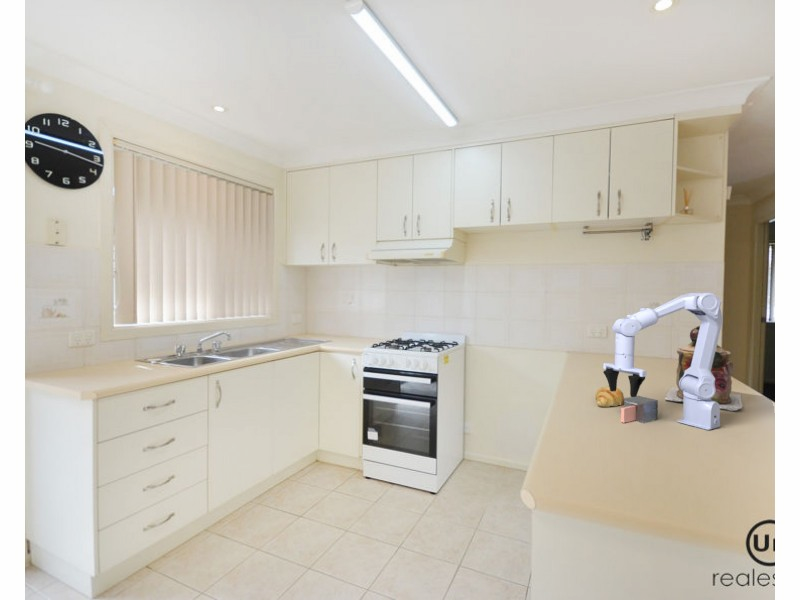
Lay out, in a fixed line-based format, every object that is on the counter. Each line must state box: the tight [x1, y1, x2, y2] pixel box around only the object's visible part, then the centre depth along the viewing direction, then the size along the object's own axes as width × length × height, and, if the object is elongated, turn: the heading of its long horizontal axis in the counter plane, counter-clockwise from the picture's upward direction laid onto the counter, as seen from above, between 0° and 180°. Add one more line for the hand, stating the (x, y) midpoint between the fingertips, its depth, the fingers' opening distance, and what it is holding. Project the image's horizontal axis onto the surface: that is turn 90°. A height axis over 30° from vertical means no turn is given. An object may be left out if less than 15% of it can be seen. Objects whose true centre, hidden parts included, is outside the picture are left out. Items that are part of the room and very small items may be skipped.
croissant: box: [595, 385, 625, 408], centre depth 160 cm, size 21×10×8 cm, turn 136°
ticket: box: [620, 405, 637, 424], centre depth 138 cm, size 1×13×5 cm, turn 119°
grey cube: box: [624, 395, 659, 424], centre depth 140 cm, size 7×8×7 cm
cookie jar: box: [664, 325, 743, 412], centre depth 164 cm, size 25×25×32 cm
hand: (623, 393), depth 137 cm, fingers open, 7 cm apart
